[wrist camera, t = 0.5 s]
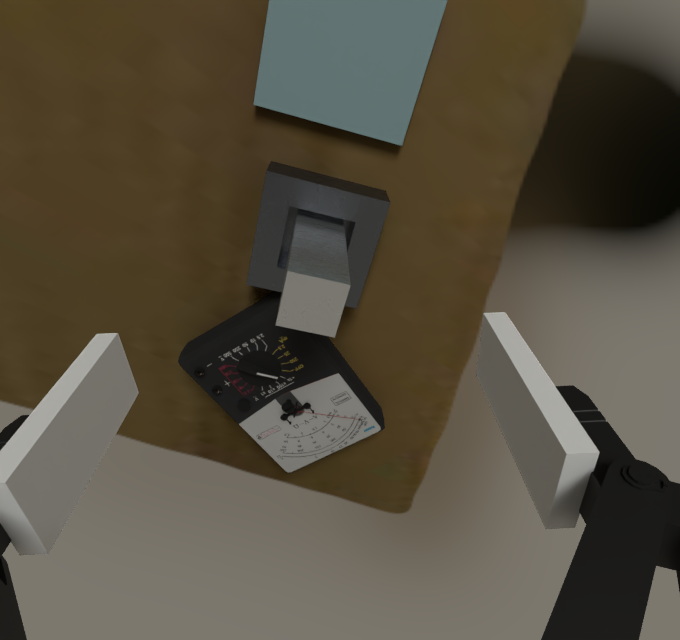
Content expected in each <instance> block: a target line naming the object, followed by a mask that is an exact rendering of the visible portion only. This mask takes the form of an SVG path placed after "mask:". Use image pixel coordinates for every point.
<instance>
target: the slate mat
mask: <svg viewBox="0 0 680 640" xmlns="http://www.w3.org/2000/svg"><path fill="white" fill-rule="evenodd" d="M446 3H447V0H269V6H268V13H267V19H266V26H265V32H264V39H263V45H262V52H261V59H260V65H259V72H258V78H257V85H256V91H255V98H254V104H253V105H257V106H260V107H264V108H267V109H271V110H275V111H278V112H282V113H285V114H289V115H293V116H296V117H300V118H303V119H307V120H311V121H314V122H318V123H321V124H325V125H329V126H332V127H336V128H339V129H343V130H347V131H350V132H354V133H357V134H361V135H365V136H368V137H372V138H375V139H379V140H383V141H386V142H390V143H393V144H397V145H401V146H402V144H403V141H404V138H405V134H406V131H407V128H408V125H409V122H410V118H411V115H412V112H413V109H414V106H415V102H416V99H417V96H418V93H419V90H420V86H421V83H422V80H423V77H424V74H425V70H426V67H427V64H428V61H429V58H430V54H431V51H432V48H433V45H434V42H435V38H436V35H437V32H438V29H439V26H440V22H441V19H442V16H443V13H444V10H445V6H446Z"/></svg>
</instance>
